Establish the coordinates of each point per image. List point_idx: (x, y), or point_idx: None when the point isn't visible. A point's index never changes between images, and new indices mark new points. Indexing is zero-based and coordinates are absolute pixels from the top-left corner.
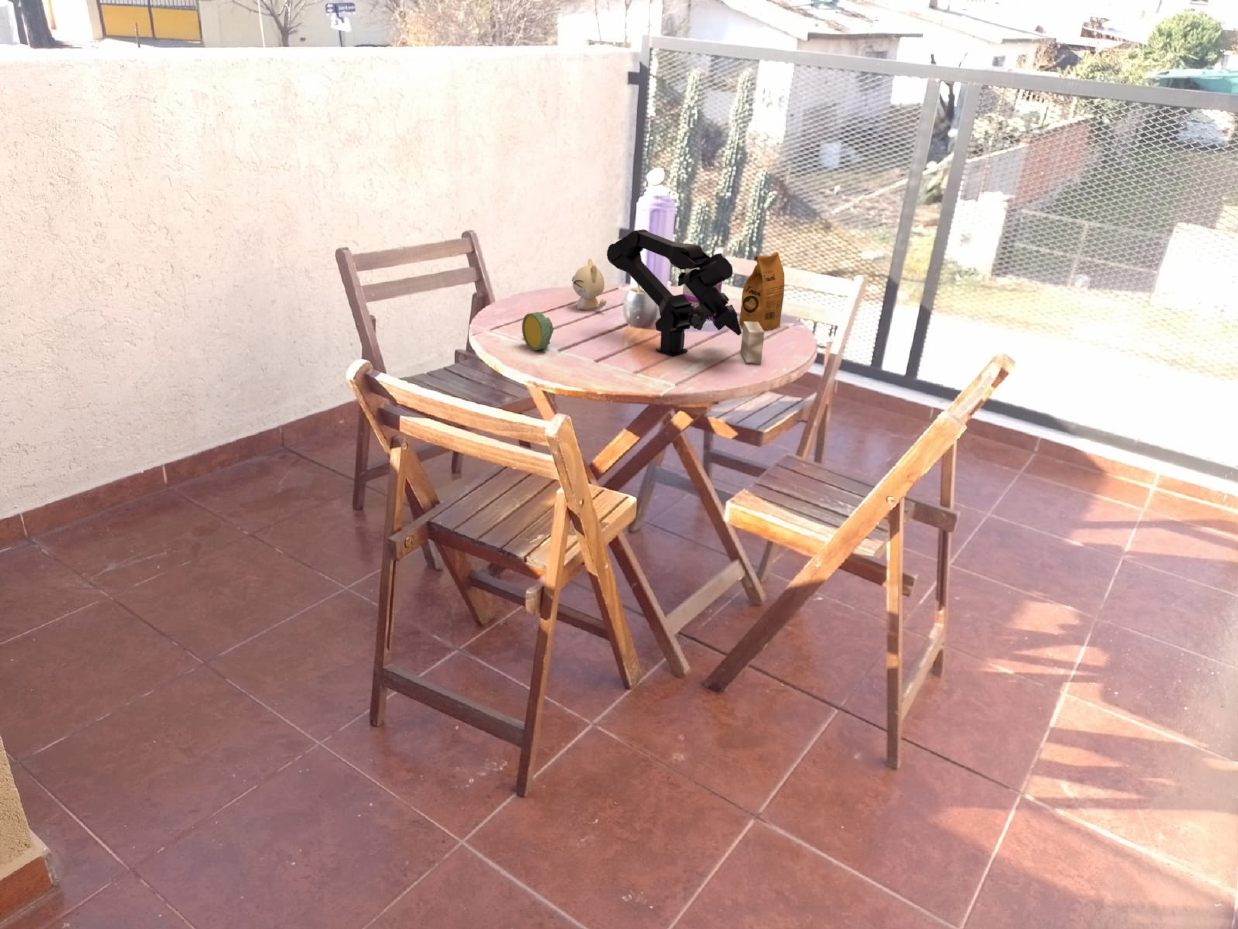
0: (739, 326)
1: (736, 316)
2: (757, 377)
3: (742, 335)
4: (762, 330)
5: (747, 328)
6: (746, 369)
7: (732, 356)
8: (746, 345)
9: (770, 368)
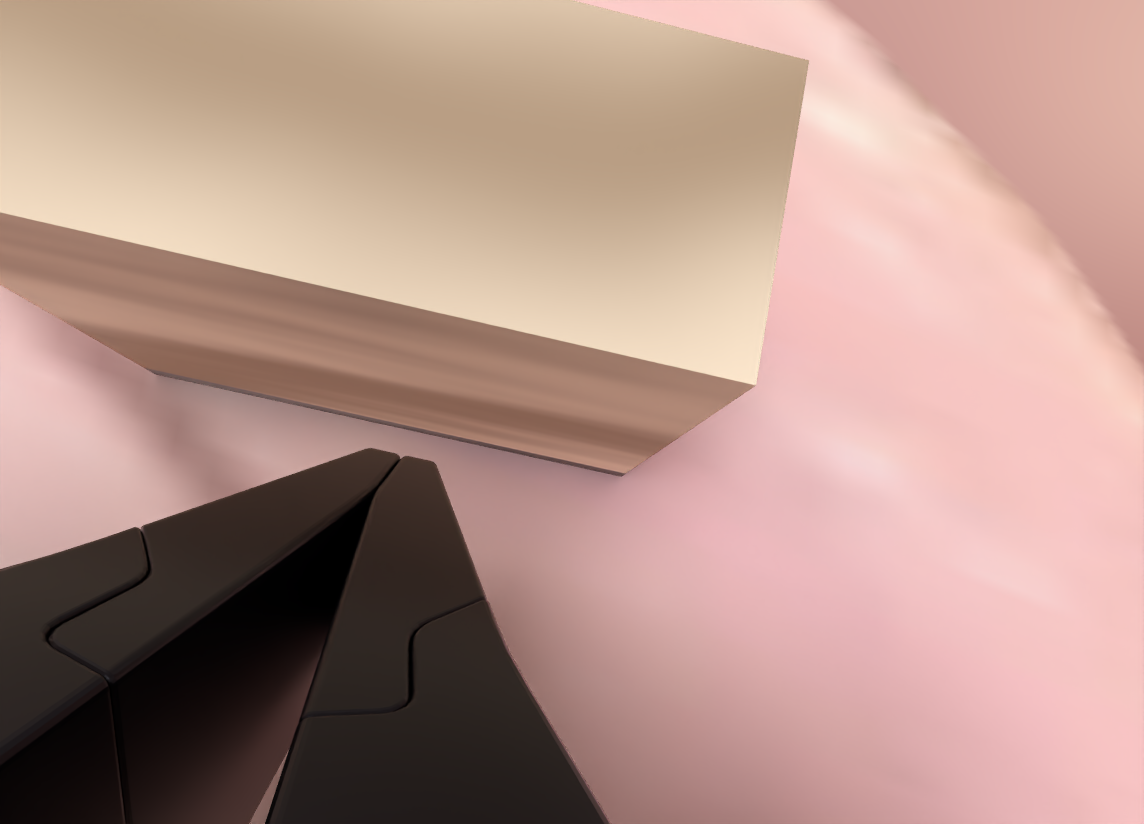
0: (460, 541)
1: (589, 797)
2: (1074, 514)
3: (51, 300)
4: (659, 40)
5: (457, 315)
6: (803, 540)
7: None
8: (543, 417)
9: (786, 247)
